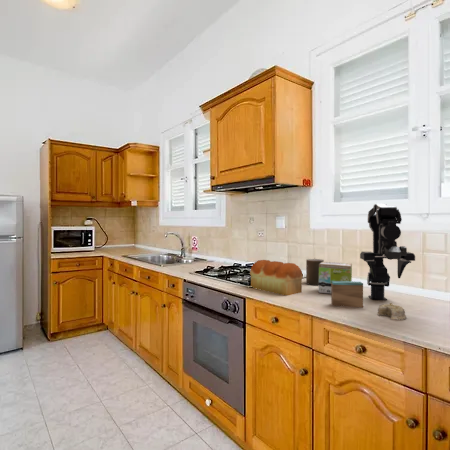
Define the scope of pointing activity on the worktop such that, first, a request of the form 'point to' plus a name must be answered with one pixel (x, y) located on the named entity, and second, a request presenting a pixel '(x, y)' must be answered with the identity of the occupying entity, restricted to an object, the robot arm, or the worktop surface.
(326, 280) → the tea box
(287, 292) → the bread
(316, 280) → the pillar candle
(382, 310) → the cake
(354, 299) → the slab
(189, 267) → the worktop surface
